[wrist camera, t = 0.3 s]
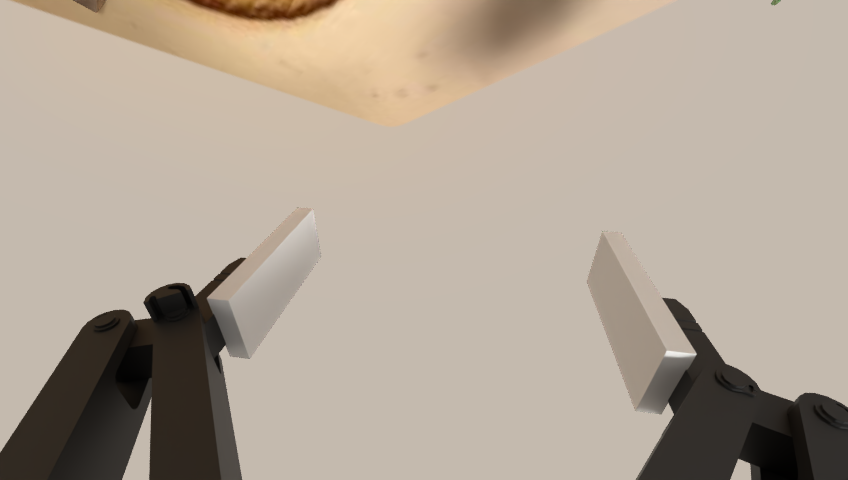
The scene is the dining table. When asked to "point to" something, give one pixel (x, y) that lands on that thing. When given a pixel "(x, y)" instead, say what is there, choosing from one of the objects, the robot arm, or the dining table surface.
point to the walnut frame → (91, 4)
